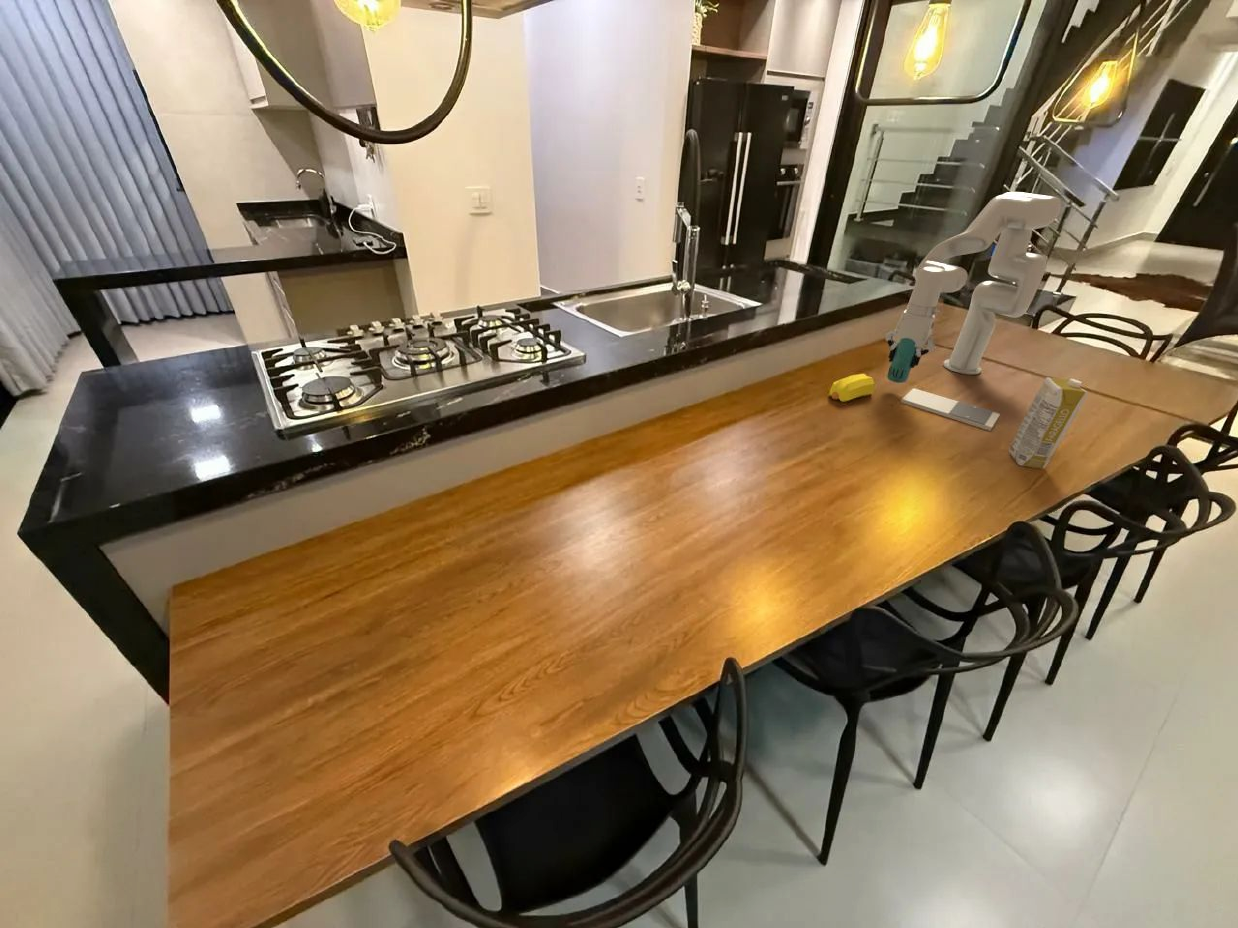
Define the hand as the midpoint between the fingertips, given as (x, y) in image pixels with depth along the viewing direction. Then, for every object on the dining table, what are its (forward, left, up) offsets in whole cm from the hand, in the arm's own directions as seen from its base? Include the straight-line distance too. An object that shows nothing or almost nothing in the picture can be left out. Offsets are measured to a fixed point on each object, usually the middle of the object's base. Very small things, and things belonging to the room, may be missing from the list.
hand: (902, 363), depth 177 cm
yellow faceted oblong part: (+14, -9, -11) cm, 20 cm away
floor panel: (+1, +18, -10) cm, 21 cm away
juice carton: (+19, +42, -10) cm, 47 cm away
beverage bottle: (0, 0, -7) cm, 7 cm away
